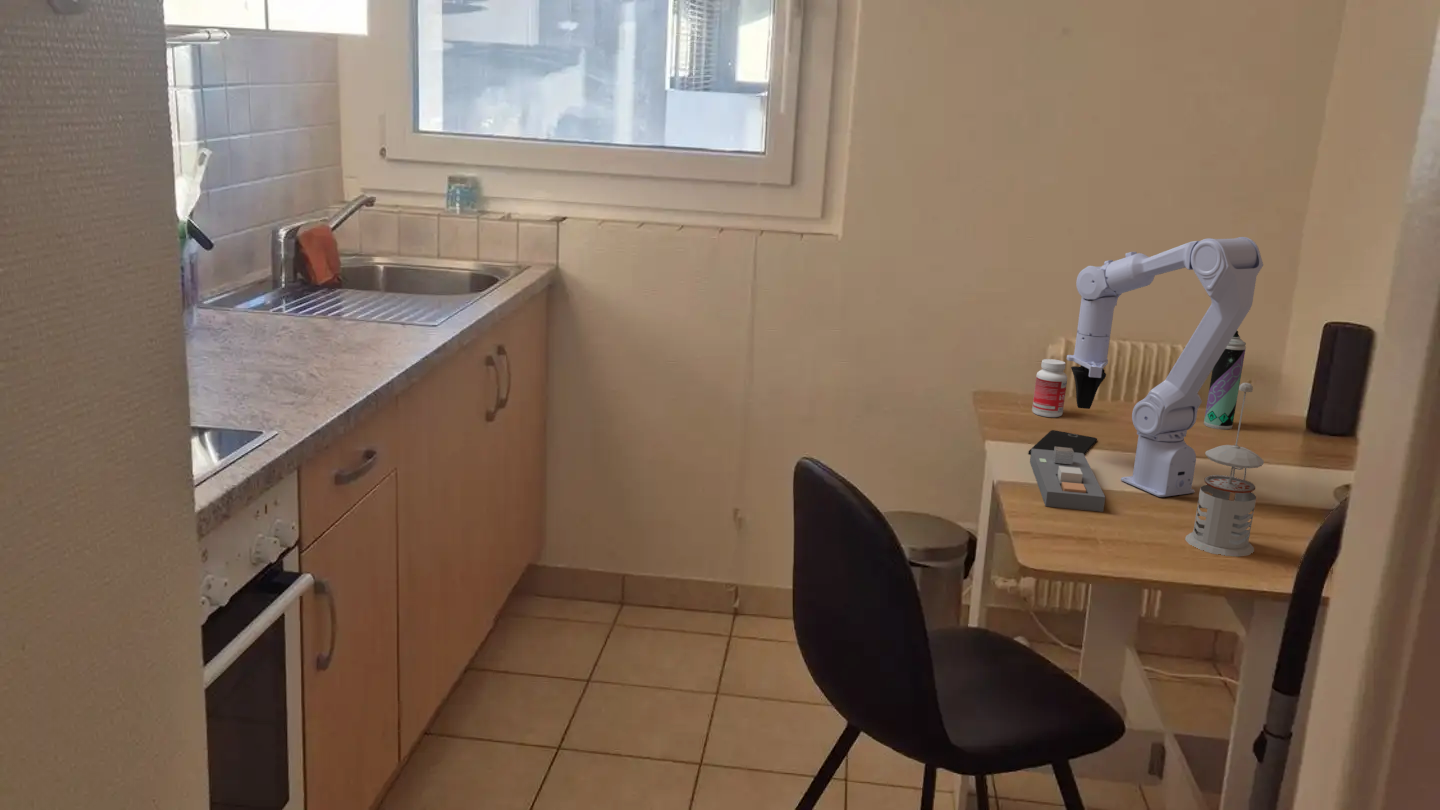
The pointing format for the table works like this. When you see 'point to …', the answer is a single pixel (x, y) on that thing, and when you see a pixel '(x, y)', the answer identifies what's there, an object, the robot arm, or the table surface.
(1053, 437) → the cell phone
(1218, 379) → the spray can
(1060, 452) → the toggle knob
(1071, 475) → the grey button
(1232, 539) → the french press
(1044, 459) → the switch panel
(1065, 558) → the table surface
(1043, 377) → the pill bottle
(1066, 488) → the orange button
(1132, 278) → the robot arm
